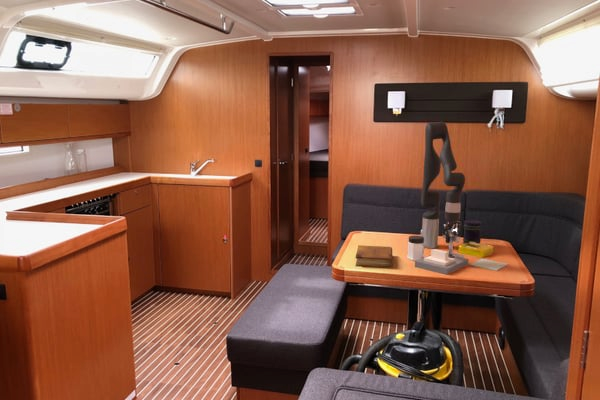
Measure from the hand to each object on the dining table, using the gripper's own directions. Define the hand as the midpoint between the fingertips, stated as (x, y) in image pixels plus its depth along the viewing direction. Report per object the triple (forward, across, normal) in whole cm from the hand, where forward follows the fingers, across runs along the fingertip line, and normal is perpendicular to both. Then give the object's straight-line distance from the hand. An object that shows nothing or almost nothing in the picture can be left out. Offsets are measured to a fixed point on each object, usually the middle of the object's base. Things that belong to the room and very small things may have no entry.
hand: (451, 241), depth 255 cm
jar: (+11, -9, +16) cm, 21 cm away
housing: (+11, -9, -1) cm, 14 cm away
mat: (+11, +10, -16) cm, 22 cm away
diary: (+12, -29, +28) cm, 42 cm away
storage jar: (+11, +39, +10) cm, 42 cm away
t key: (+7, -1, -2) cm, 8 cm away
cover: (+8, -12, -1) cm, 14 cm away
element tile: (+12, +27, +1) cm, 30 cm away
